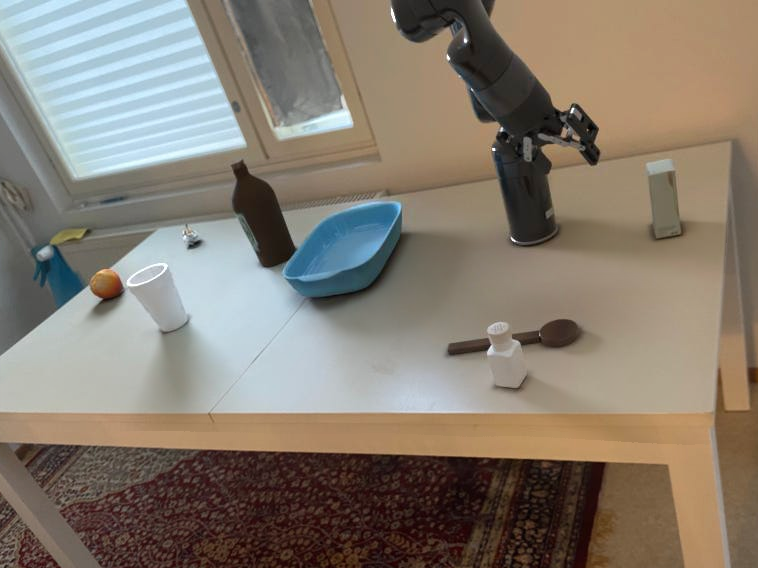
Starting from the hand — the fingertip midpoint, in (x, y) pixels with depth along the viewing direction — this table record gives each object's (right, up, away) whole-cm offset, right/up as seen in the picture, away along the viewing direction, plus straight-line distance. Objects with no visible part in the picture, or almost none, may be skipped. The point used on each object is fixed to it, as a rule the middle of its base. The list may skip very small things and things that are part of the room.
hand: (571, 165), depth 105 cm
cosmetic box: (+23, -6, +22) cm, 32 cm away
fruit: (-102, -12, +82) cm, 132 cm away
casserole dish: (-36, -8, +51) cm, 63 cm away
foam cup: (-77, -21, +54) cm, 96 cm away
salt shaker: (-9, -32, 0) cm, 33 cm away
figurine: (-85, +5, +98) cm, 130 cm away
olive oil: (-56, -4, +69) cm, 89 cm away
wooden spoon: (-7, -26, +8) cm, 28 cm away
